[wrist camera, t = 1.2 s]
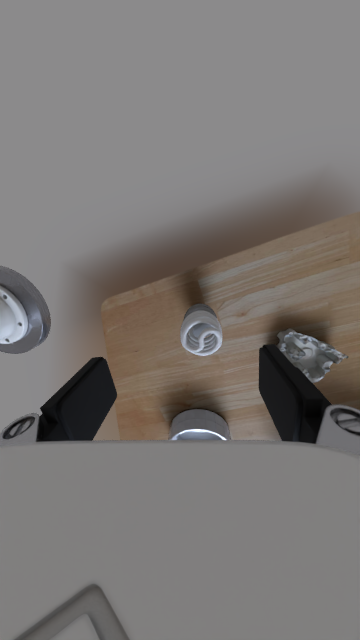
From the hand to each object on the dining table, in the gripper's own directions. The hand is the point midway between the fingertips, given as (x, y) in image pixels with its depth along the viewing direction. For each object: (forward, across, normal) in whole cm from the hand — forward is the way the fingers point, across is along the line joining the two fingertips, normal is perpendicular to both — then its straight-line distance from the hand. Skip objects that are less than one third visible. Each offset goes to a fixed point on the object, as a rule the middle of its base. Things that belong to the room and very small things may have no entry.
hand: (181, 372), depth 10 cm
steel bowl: (+22, +2, +33) cm, 40 cm away
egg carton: (+23, -19, +13) cm, 32 cm away
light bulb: (+22, -1, +4) cm, 23 cm away
